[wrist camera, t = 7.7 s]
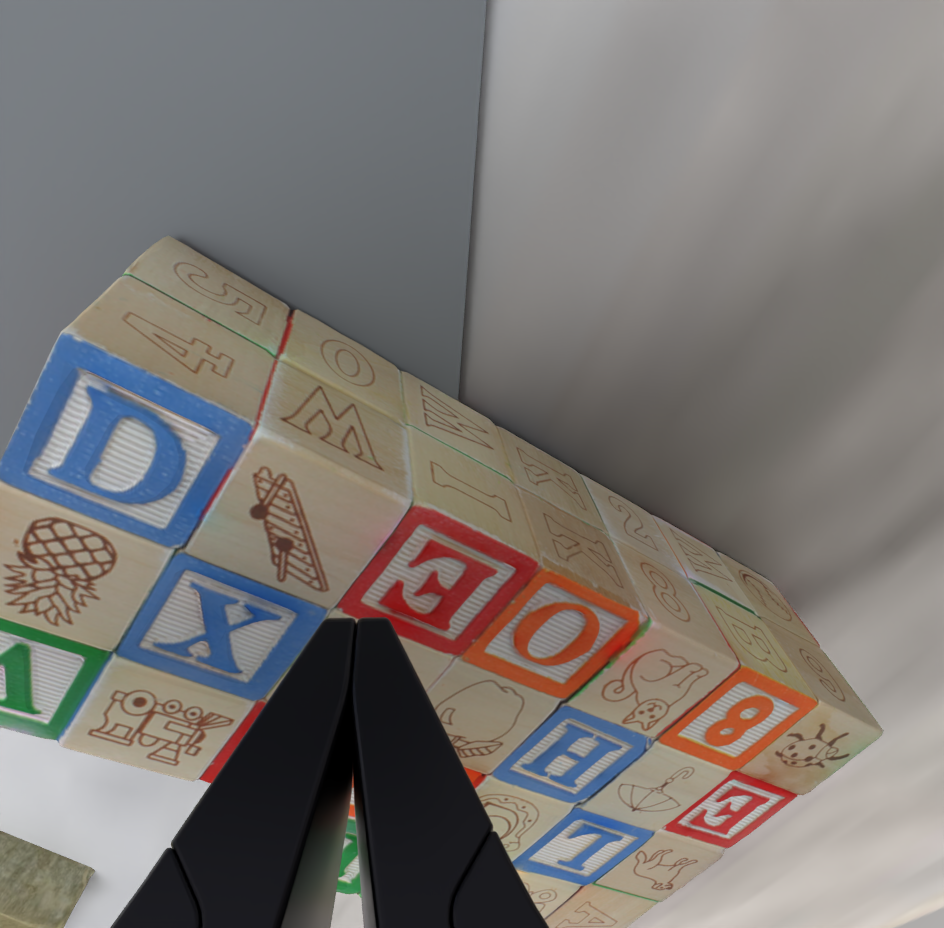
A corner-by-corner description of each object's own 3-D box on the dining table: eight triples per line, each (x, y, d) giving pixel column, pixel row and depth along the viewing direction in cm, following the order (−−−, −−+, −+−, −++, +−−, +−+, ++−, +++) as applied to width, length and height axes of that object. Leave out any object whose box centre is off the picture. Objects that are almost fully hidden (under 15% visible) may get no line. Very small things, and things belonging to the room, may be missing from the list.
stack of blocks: (167, 220, 15) (-13, 590, 19) (56, 317, 10) (-157, 796, 14) (775, 583, 23) (552, 782, 28) (894, 740, 18) (596, 954, 23)
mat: (503, -277, 12) (507, -288, 11) (438, 655, 24) (439, 666, 23) (-273, -389, 10) (-302, -408, 10) (75, 661, 22) (69, 673, 22)
